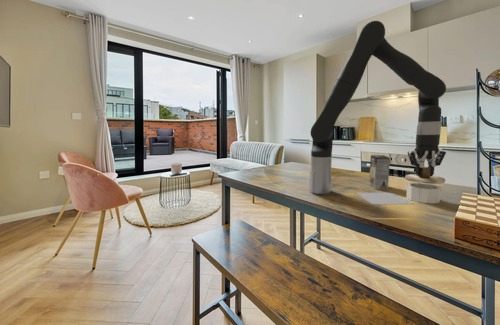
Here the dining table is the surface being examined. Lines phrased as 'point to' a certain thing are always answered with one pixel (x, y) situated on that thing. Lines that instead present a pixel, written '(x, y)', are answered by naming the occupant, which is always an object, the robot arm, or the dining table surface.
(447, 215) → the dining table surface
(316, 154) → the robot arm
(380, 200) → the mat
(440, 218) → the dining table surface
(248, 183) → the dining table surface
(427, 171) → the lid
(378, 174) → the coffee box
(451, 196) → the dining table surface
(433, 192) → the bowl
